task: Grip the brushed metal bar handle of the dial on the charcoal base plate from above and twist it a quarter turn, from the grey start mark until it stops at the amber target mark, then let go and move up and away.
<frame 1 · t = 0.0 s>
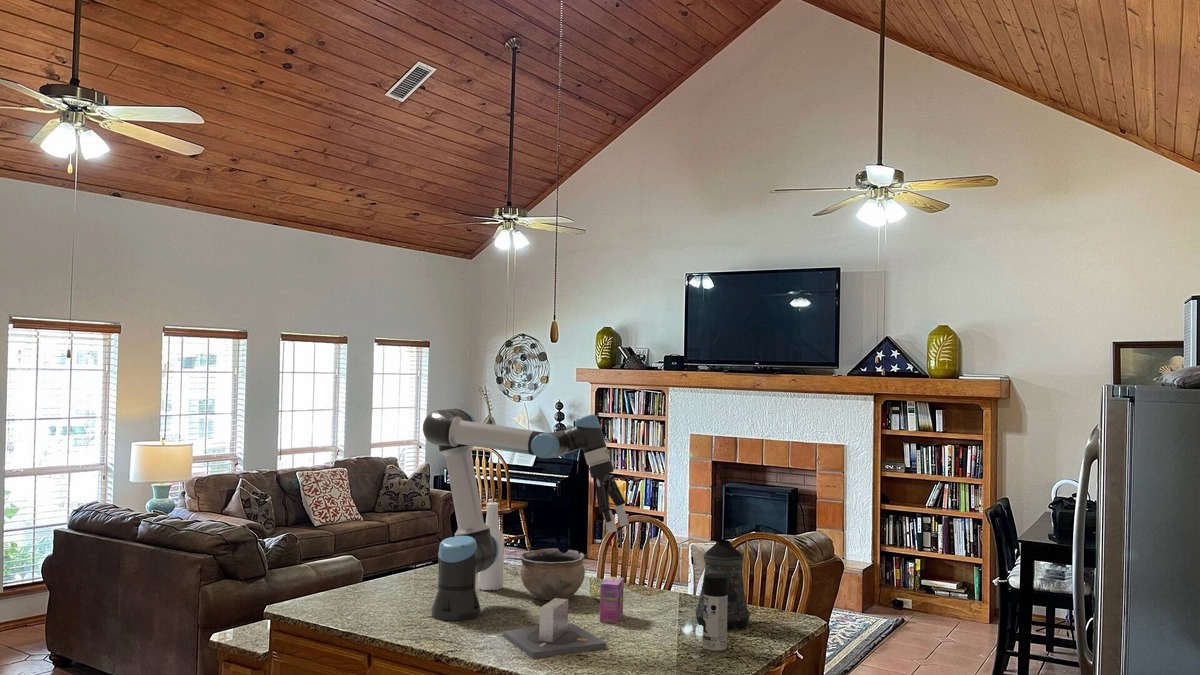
hand: (619, 528, 277), 28 cm above the kitchen island, tool tilted 20°, fingers open, 13 cm apart
ceramic bowl: (552, 599, 300), on the kitchen island
box: (611, 619, 276), on the kitchen island
dial handle: (554, 618, 250), point 7 cm above the kitchen island, hinge at 0.0°
beer stein: (719, 622, 274), on the kitchen island
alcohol: (490, 589, 313), on the kitchen island
dial plate: (553, 642, 250), on the kitchen island
spray can: (714, 649, 247), on the kitchen island
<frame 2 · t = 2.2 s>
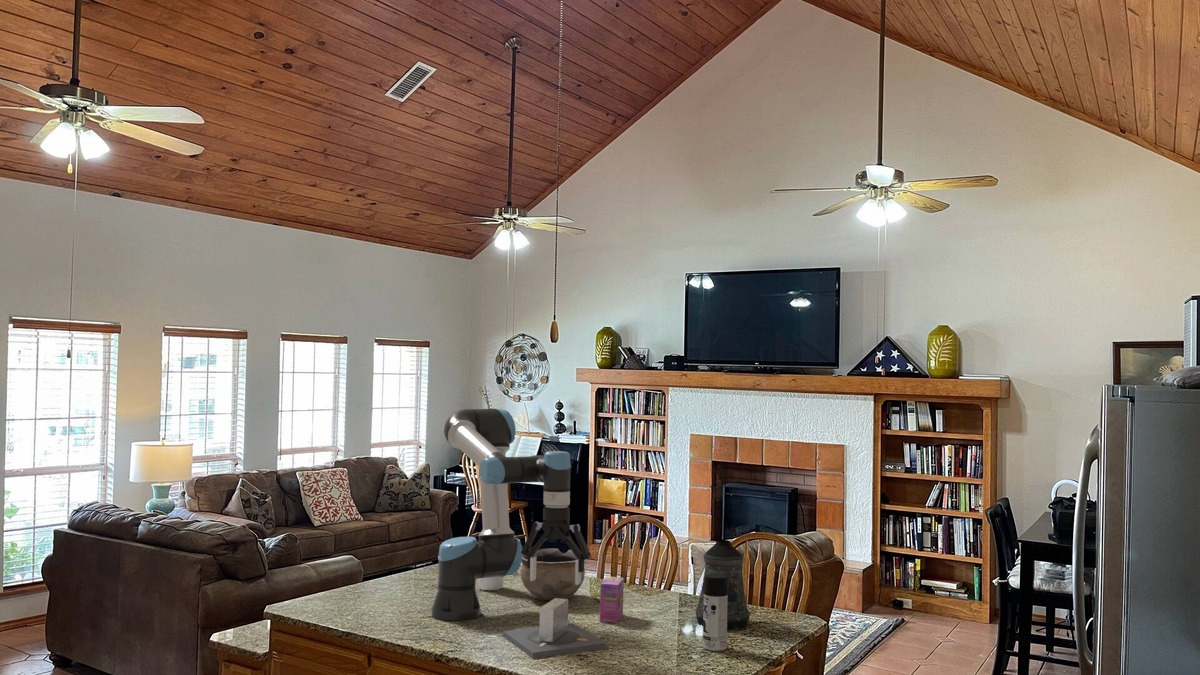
hand: (555, 582, 250), 17 cm above the kitchen island, tool pointing down, fingers open, 13 cm apart
nothing on the kitchen island moved.
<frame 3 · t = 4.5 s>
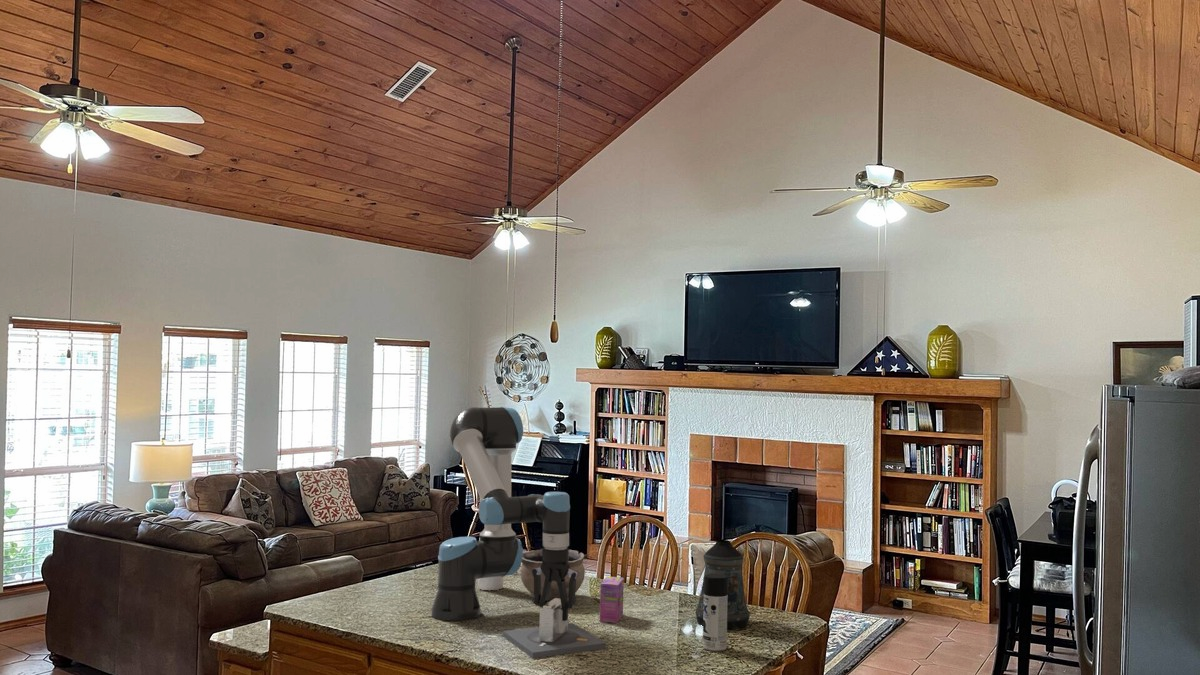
hand: (553, 630, 250), 3 cm above the kitchen island, tool pointing down, fingers closed on dial handle, 4 cm apart
dial handle: (554, 618, 250), point 7 cm above the kitchen island, hinge at 0.0°, touching gripper
everything else where it was.
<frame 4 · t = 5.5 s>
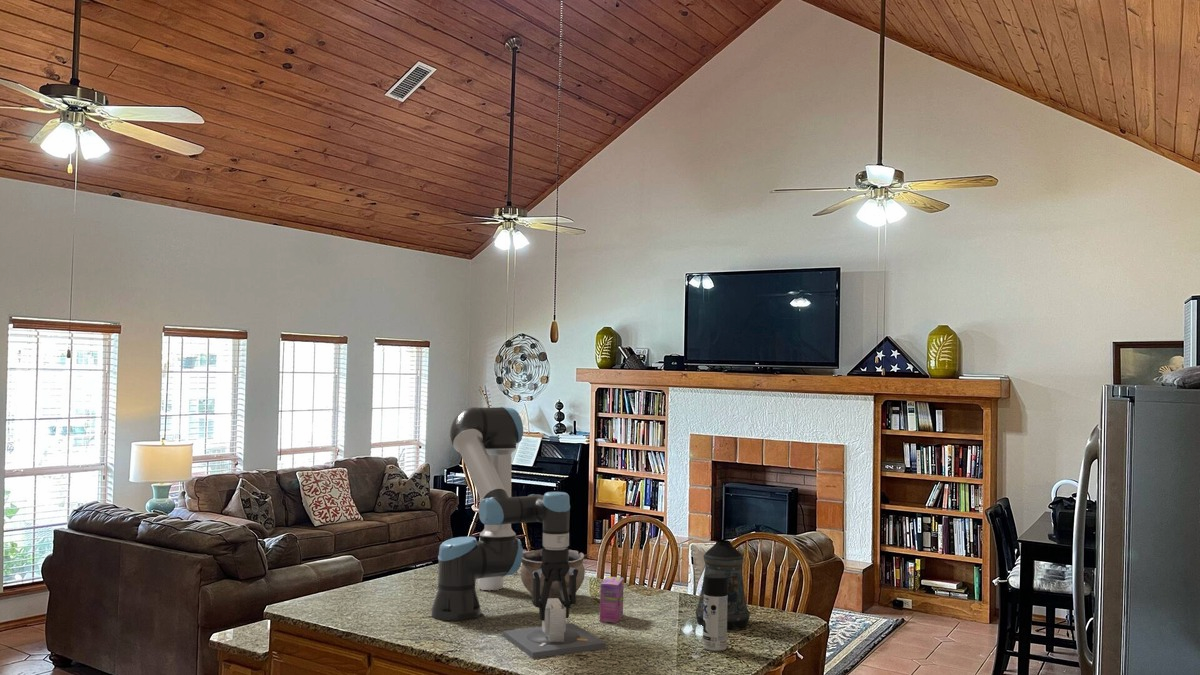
hand: (553, 630, 250), 3 cm above the kitchen island, tool pointing down, fingers closed on dial handle, 5 cm apart
dial handle: (554, 618, 250), point 7 cm above the kitchen island, hinge at 29.1°, touching gripper
everything else where it was.
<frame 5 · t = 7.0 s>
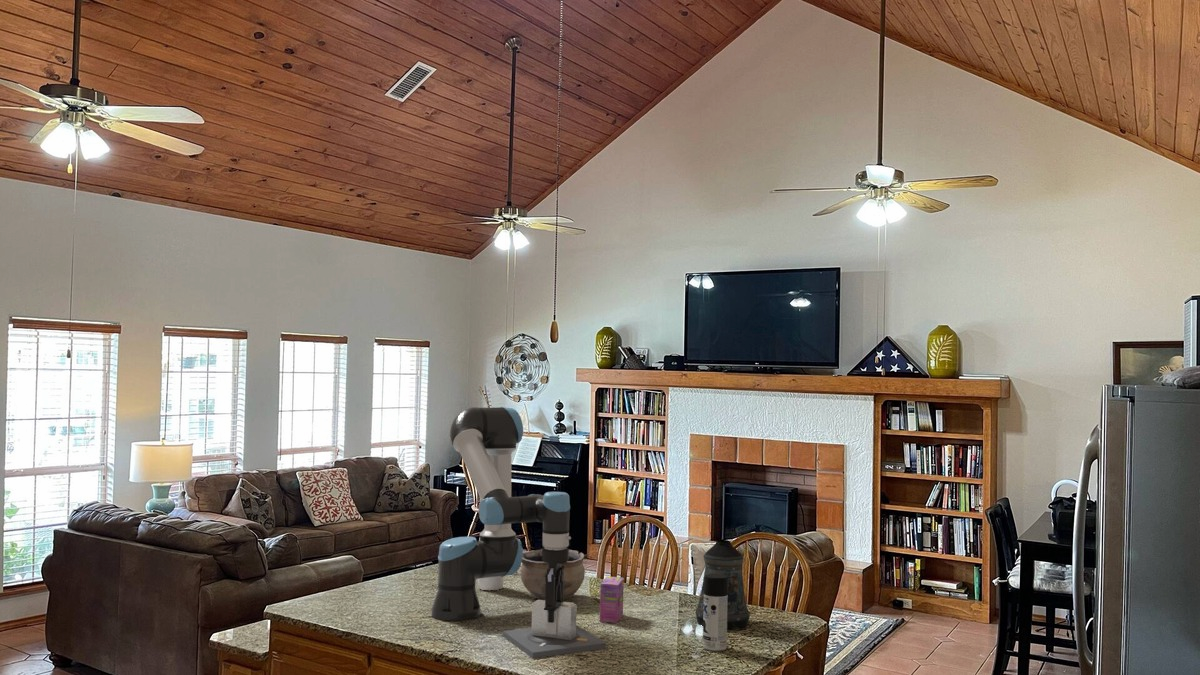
hand: (553, 630, 250), 3 cm above the kitchen island, tool pointing down, fingers closed on dial handle, 5 cm apart
dial handle: (554, 618, 250), point 7 cm above the kitchen island, hinge at 86.7°, touching gripper
everything else where it was.
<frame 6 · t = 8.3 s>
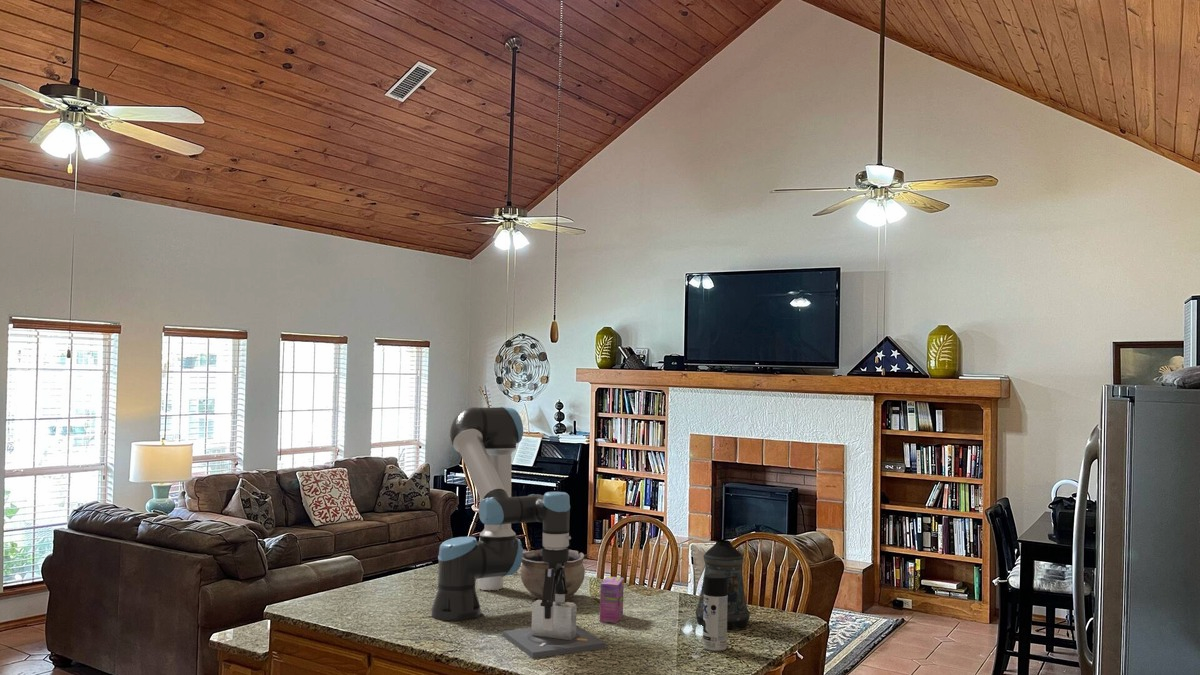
hand: (553, 623, 250), 5 cm above the kitchen island, tool pointing down, fingers open, 13 cm apart
dial handle: (554, 618, 250), point 7 cm above the kitchen island, hinge at 86.9°
everything else where it was.
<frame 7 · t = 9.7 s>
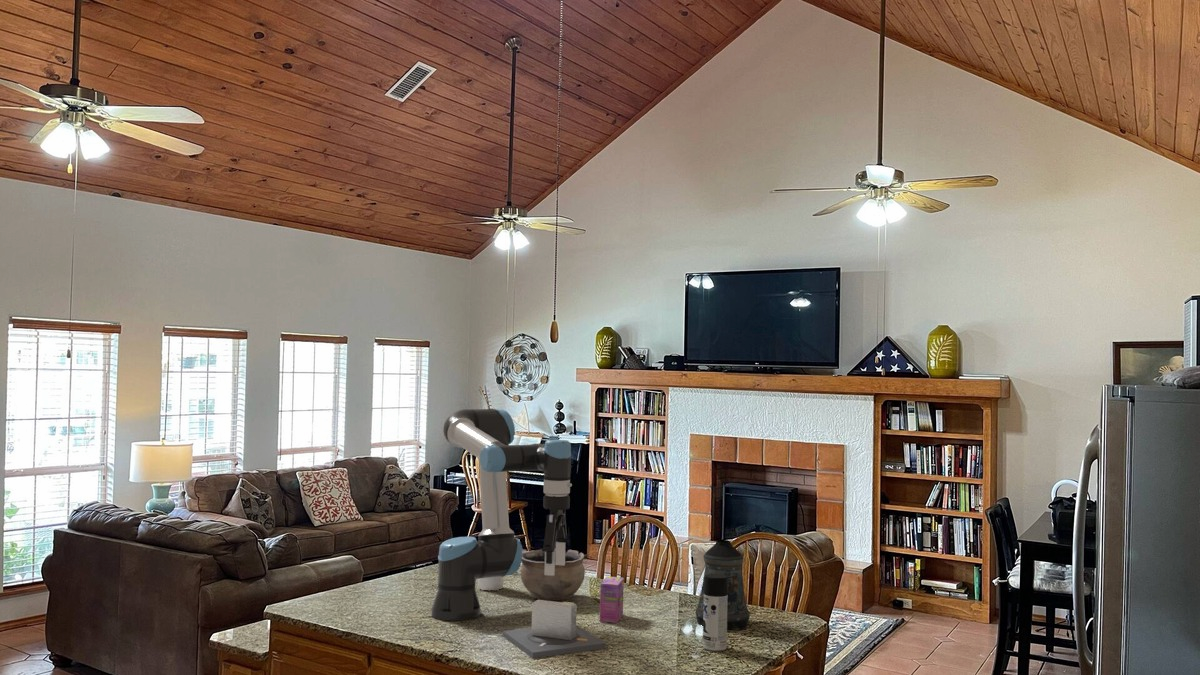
hand: (554, 570, 251), 20 cm above the kitchen island, tool pointing down, fingers open, 13 cm apart
nothing on the kitchen island moved.
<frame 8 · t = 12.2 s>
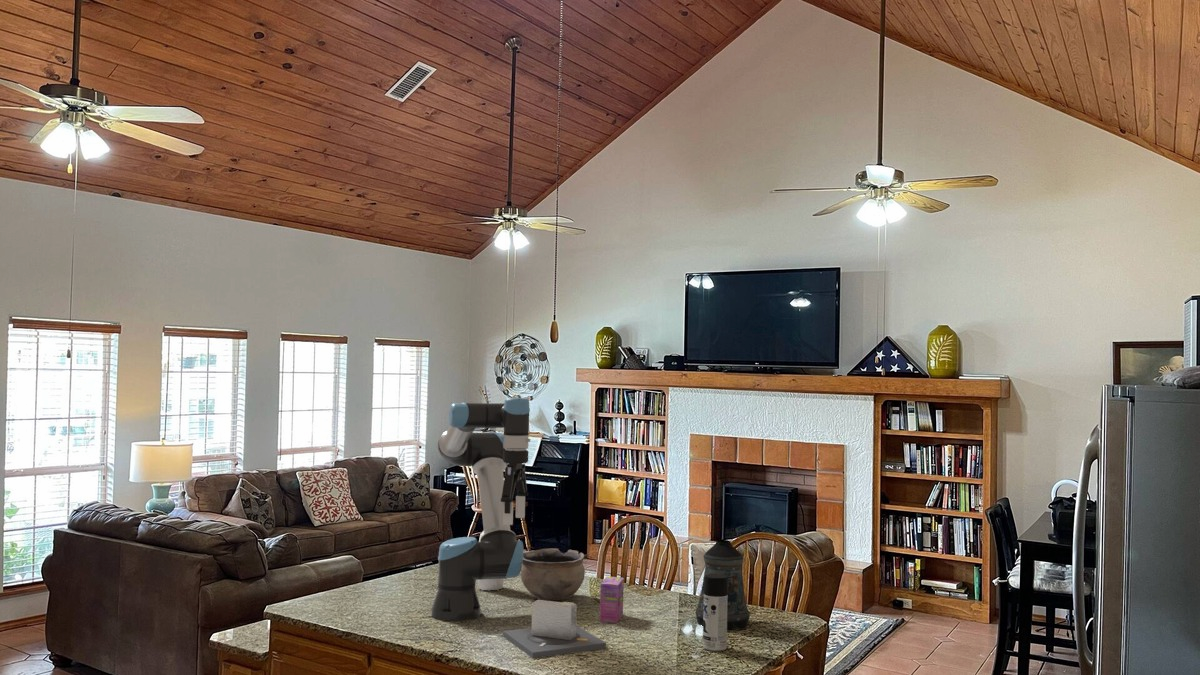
hand: (514, 521, 264), 32 cm above the kitchen island, tool pointing down, fingers open, 13 cm apart
nothing on the kitchen island moved.
at the end: dial handle at +87° (first picture: +0°) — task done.
